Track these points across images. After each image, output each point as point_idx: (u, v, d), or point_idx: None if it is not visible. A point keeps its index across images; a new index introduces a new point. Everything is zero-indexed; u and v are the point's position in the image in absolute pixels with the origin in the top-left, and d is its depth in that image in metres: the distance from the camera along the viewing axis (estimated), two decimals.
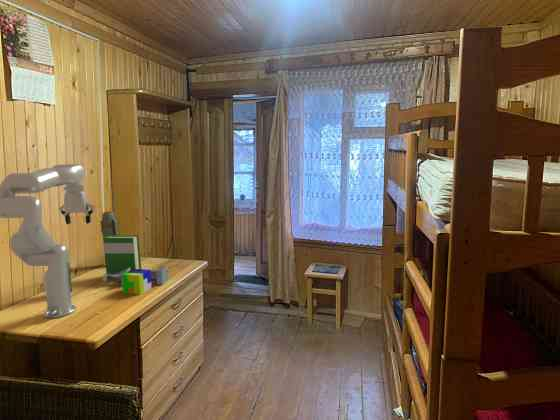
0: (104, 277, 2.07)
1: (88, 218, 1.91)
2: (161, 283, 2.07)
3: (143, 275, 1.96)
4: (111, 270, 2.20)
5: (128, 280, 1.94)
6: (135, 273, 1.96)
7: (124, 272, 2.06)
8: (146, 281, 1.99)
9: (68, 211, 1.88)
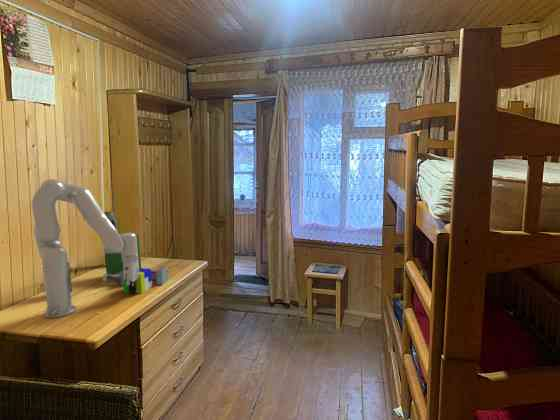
0: (104, 277, 2.07)
1: None
2: (161, 283, 2.07)
3: (144, 274, 1.98)
4: (111, 270, 2.20)
5: None
6: None
7: None
8: (147, 280, 2.01)
9: (134, 279, 1.88)
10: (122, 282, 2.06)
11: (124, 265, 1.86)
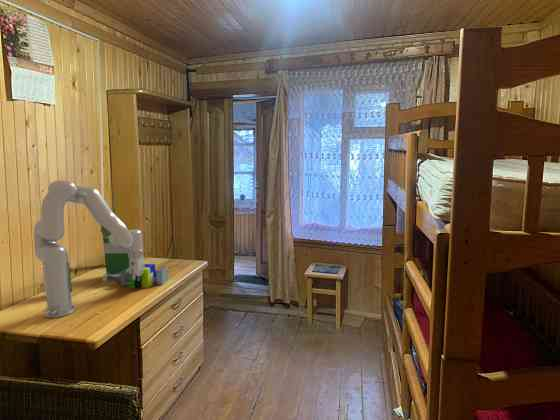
0: (104, 277, 2.07)
1: None
2: (161, 283, 2.07)
3: (150, 269, 2.06)
4: (111, 270, 2.20)
5: None
6: None
7: (124, 272, 2.06)
8: (152, 275, 2.09)
9: (140, 274, 1.97)
10: (122, 282, 2.06)
11: (130, 260, 1.94)
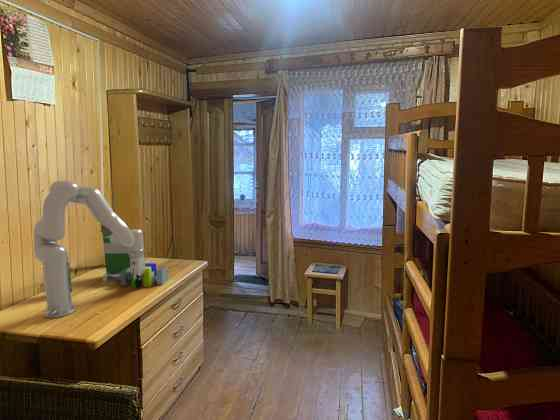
0: (104, 277, 2.07)
1: None
2: (161, 283, 2.07)
3: (151, 268, 2.08)
4: (111, 270, 2.20)
5: None
6: None
7: (124, 272, 2.06)
8: (154, 274, 2.11)
9: (141, 274, 1.98)
10: (122, 282, 2.06)
11: (131, 260, 1.95)
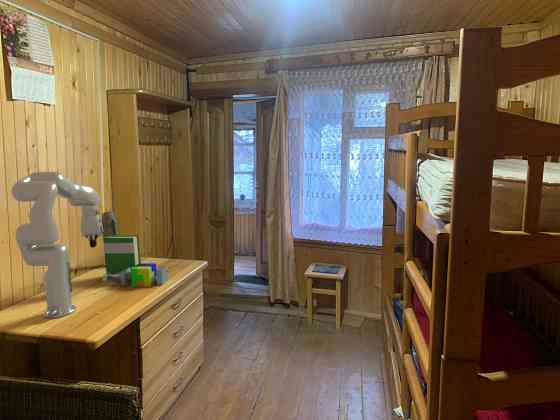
0: (104, 277, 2.07)
1: None
2: (161, 283, 2.07)
3: (151, 268, 2.08)
4: (111, 270, 2.20)
5: (137, 273, 2.05)
6: (143, 267, 2.07)
7: (124, 272, 2.06)
8: (154, 274, 2.11)
9: None
10: (122, 282, 2.06)
11: (97, 218, 2.04)
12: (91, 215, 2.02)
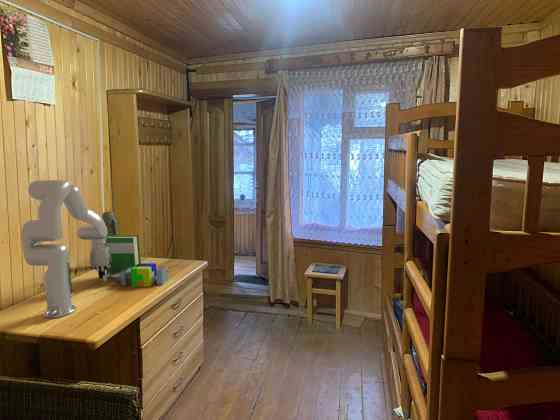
0: (104, 277, 2.07)
1: None
2: (161, 283, 2.07)
3: (151, 268, 2.08)
4: (111, 270, 2.20)
5: (137, 273, 2.05)
6: (143, 267, 2.07)
7: (124, 272, 2.06)
8: (154, 274, 2.11)
9: None
10: (122, 282, 2.06)
11: (106, 250, 2.07)
12: (100, 247, 2.05)
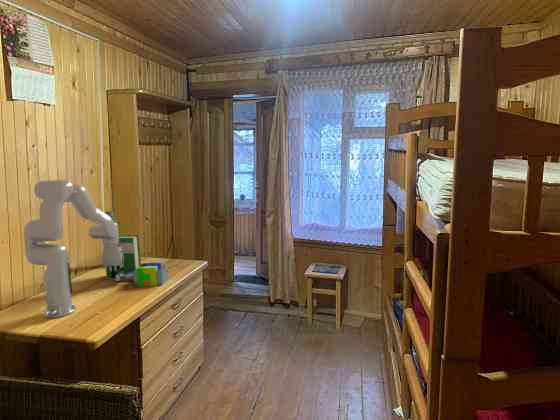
0: (117, 277, 2.07)
1: None
2: (161, 283, 2.07)
3: (157, 267, 2.09)
4: None
5: (143, 273, 2.05)
6: (149, 266, 2.08)
7: None
8: None
9: None
10: (135, 282, 2.07)
11: (119, 250, 2.07)
12: (113, 247, 2.05)
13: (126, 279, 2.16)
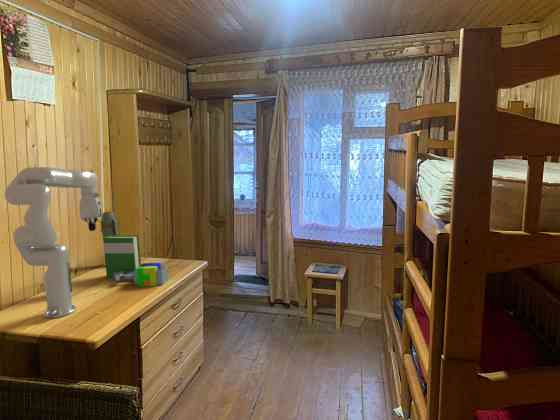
0: (117, 277, 2.07)
1: None
2: (161, 283, 2.07)
3: (157, 268, 2.09)
4: (111, 270, 2.20)
5: (143, 273, 2.05)
6: (149, 266, 2.08)
7: None
8: None
9: None
10: (135, 282, 2.07)
11: (97, 201, 1.99)
12: (90, 197, 1.97)
13: (126, 279, 2.16)
